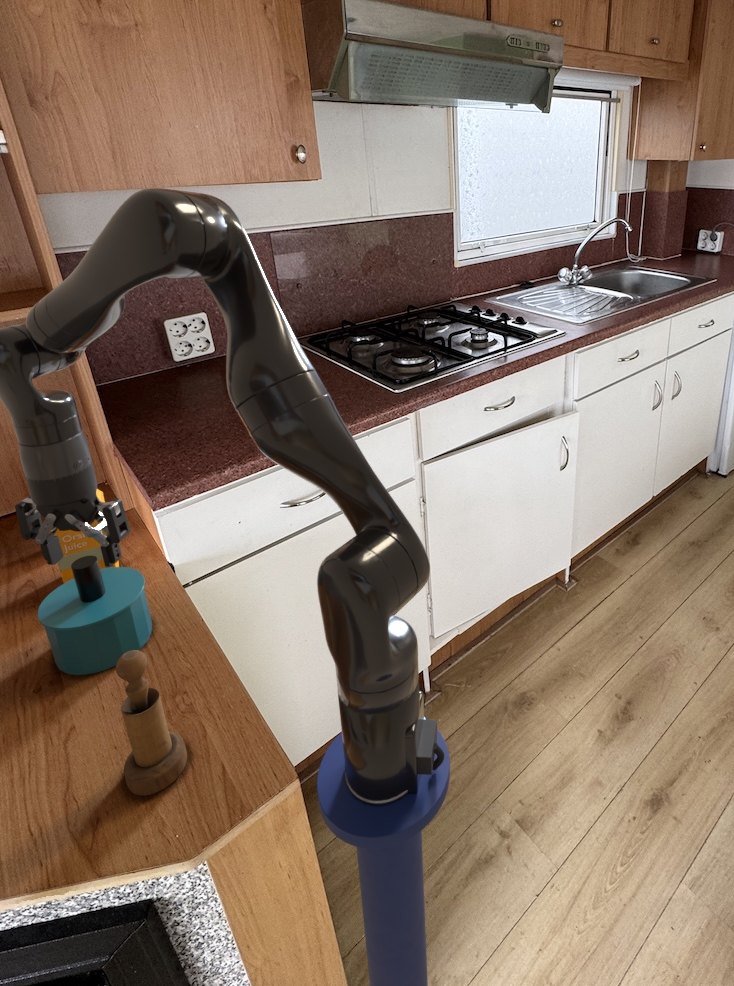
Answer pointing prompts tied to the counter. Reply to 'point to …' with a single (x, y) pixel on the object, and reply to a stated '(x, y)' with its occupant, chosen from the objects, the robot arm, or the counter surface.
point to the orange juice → (79, 548)
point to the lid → (90, 596)
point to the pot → (101, 640)
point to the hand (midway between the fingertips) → (84, 562)
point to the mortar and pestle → (147, 731)
